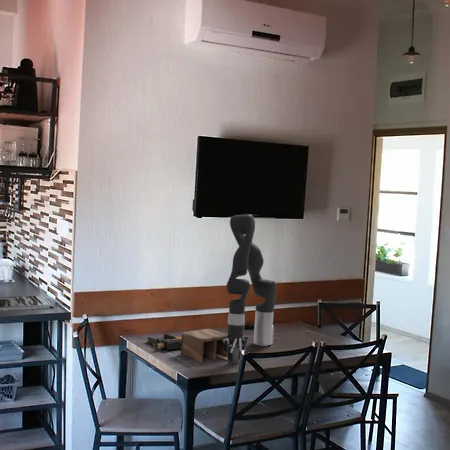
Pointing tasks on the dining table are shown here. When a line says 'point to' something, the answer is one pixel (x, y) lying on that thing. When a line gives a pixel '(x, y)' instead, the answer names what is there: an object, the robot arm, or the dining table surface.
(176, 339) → the submachine gun
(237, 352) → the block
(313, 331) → the dining table surface
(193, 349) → the shelf
